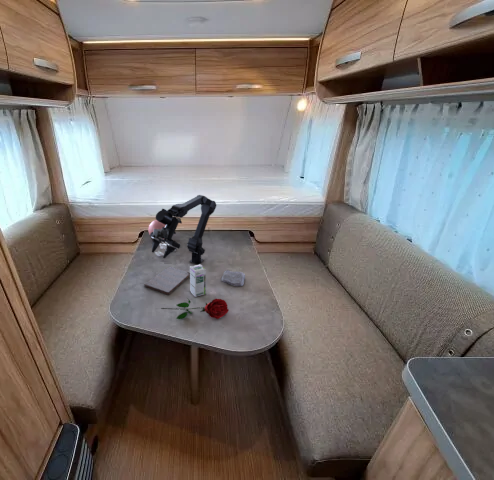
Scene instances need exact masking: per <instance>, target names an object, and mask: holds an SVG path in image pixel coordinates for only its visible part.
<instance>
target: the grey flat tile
mask: <svg viewBox="0 0 494 480" xmlns="http://www.w3.org/2000/svg"><path fill="white" fill-rule="evenodd" d="M189 278H190V271H186V270H182V269H179V268H175V267H172V266H167V267H166V268H165V269H163V270H161V271H160V272H159V273H157V274H156V275H154V276H153V277H152V278H151V279H149V280H148V281H147V282H145V283H144V287H145V288H147V289H149V290H153V291H156V292H159V293H162V294H164V295H167V296H169V295H171V294H172V293H173V292H174V291H175V290H176V289H177V288H178V287H180V285H182V284H183V283H184V282H186V280H187V279H189Z"/></svg>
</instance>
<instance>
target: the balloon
mask: <svg viewBox="0 0 494 480" xmlns="http://www.w3.org/2000/svg"><path fill="white" fill-rule="evenodd" d="M165 226H166V225H164V224H162V223H161V222H159V221H157V220H156V219H154V220H152V221H151V222H150V224H149V225H148V229H147V230H148V234H149V235H150V234H151V233H152V232H153V231H154V229H162V227H165ZM163 239H164V238H163ZM159 241H160V240H159ZM160 242H161V241H160Z"/></svg>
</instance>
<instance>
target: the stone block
mask: <svg viewBox="0 0 494 480" xmlns="http://www.w3.org/2000/svg"><path fill="white" fill-rule="evenodd" d="M245 278H246V274H245V273H244V272H243V271H231V270H229V269H226V270H225V271H224V272H223V273H222V276H221V282H223V283H225V284H228V285H230V286H234V287H242V286H243V285H244V283H245Z"/></svg>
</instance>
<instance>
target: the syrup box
mask: <svg viewBox="0 0 494 480" xmlns="http://www.w3.org/2000/svg"><path fill="white" fill-rule="evenodd" d="M189 273H190V277H189V290H190V291H189V292H190V293H191V294H192V295H193V296H194V297H195V298H197V297H200V296H203V295H206V284H207V282H206V280H207V277H206V276H207V269H206V268H205V266H203V264H201V263H200V264H194V265H191V266H189Z"/></svg>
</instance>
